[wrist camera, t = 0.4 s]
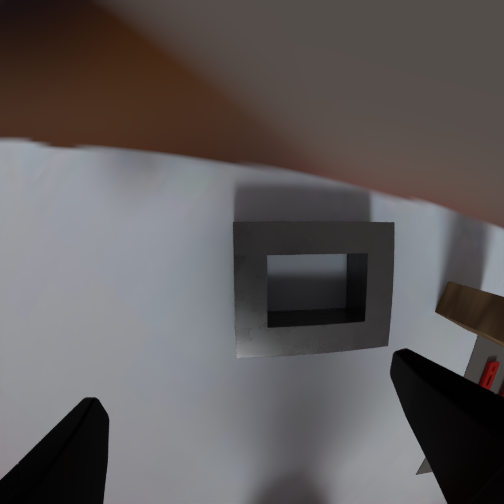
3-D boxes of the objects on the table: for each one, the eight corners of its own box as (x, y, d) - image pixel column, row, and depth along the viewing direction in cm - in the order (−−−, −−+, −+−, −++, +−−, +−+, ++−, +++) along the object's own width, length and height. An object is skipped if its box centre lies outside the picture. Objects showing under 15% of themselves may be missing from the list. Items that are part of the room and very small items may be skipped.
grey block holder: (366, 329, 24) (387, 345, 21) (235, 337, 24) (236, 357, 20) (370, 222, 24) (394, 222, 20) (233, 223, 23) (233, 222, 19)
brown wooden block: (466, 329, 25) (561, 374, 12) (435, 311, 25) (540, 359, 12) (478, 301, 25) (578, 335, 12) (448, 281, 25) (559, 313, 12)
